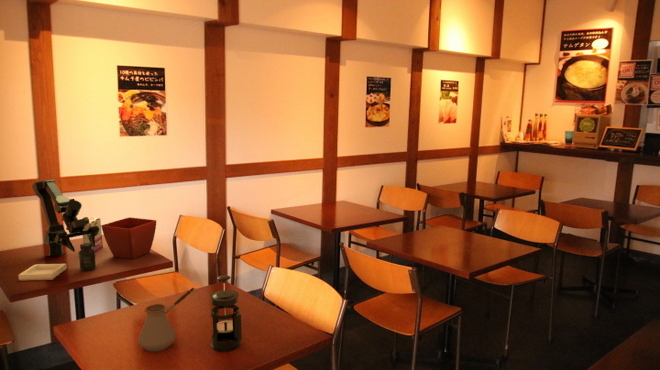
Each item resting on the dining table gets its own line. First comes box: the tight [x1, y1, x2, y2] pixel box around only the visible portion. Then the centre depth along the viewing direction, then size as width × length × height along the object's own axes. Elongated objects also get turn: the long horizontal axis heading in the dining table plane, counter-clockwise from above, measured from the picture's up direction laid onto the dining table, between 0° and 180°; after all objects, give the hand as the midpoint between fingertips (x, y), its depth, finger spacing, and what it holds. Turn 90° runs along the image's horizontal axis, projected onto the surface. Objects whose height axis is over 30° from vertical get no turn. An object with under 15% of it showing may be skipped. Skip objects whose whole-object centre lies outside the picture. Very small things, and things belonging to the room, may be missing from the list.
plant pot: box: [101, 217, 157, 260], centre depth 248 cm, size 19×19×17 cm
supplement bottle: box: [77, 243, 97, 272], centre depth 227 cm, size 7×7×12 cm
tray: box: [18, 263, 68, 281], centre depth 220 cm, size 14×14×2 cm
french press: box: [209, 274, 243, 353], centre depth 155 cm, size 12×9×23 cm
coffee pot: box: [137, 287, 198, 353], centre depth 159 cm, size 21×12×15 cm, turn 143°
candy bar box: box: [82, 217, 104, 253], centre depth 255 cm, size 11×5×16 cm, turn 179°
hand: (84, 249), depth 227 cm, fingers open, 9 cm apart
